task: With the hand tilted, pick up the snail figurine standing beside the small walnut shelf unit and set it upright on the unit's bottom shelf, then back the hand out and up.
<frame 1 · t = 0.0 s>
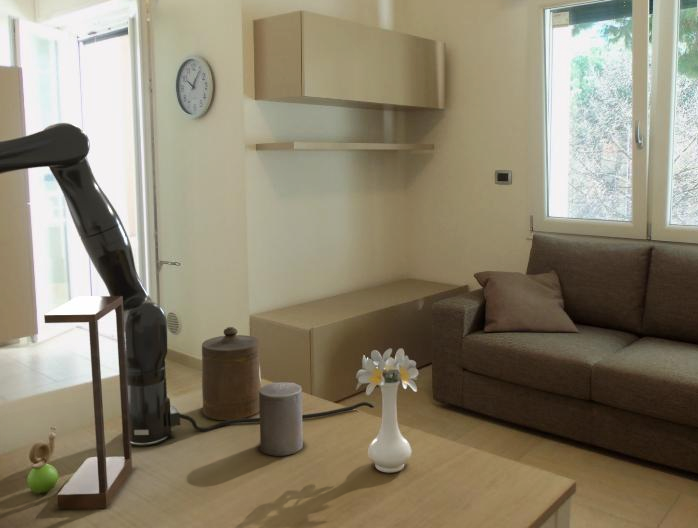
flower vase: (388, 465, 147), on the table
shelf unit: (97, 488, 137), on the table
pillar candle: (282, 447, 156), on the table
wooden container: (232, 410, 179), on the table
snail figurine: (45, 491, 137), on the table
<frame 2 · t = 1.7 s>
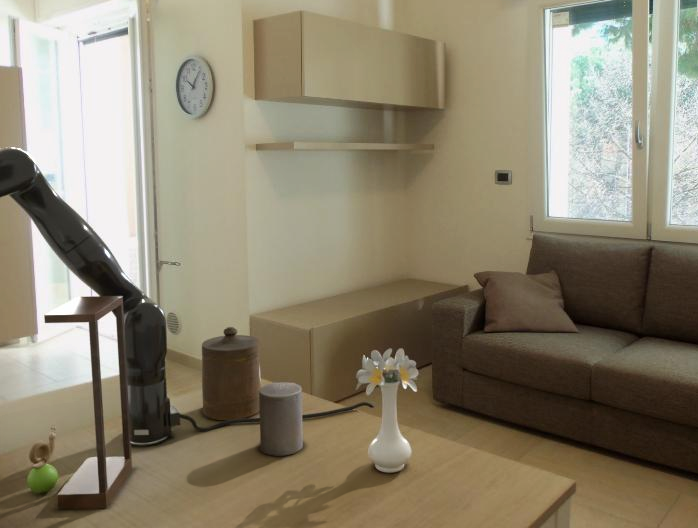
nothing on the table moved.
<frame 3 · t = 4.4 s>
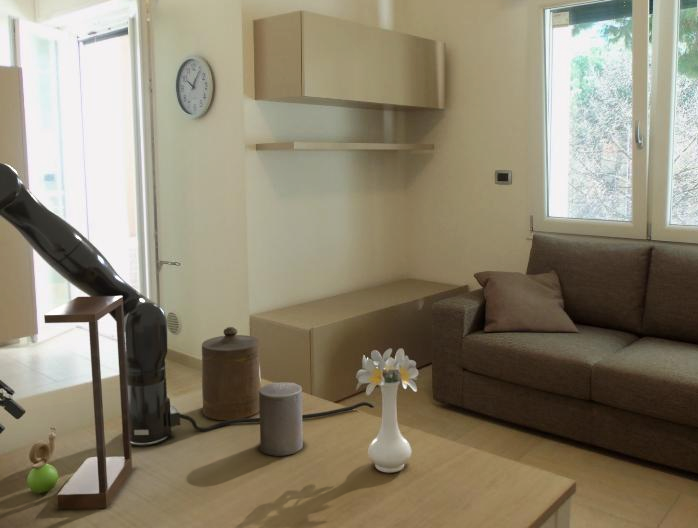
hand: (12, 424, 135), 14 cm above the table, tool tilted 45°, fingers open, 8 cm apart
nothing on the table moved.
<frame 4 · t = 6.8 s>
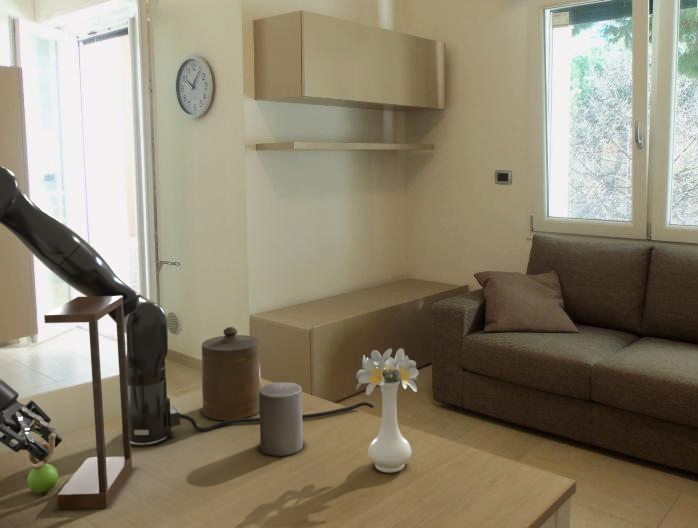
hand: (52, 450, 136), 8 cm above the table, tool tilted 45°, fingers closed on snail figurine, 5 cm apart
snail figurine: (45, 490, 137), on the table, touching gripper
everything else where it was.
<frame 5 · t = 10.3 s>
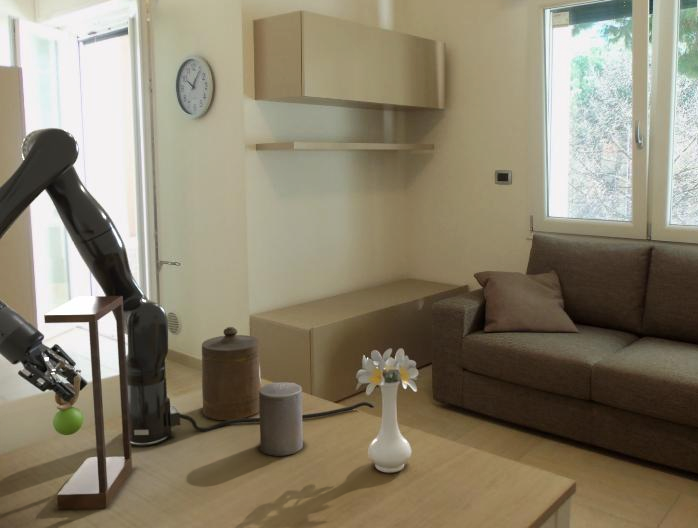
hand: (77, 392, 135), 20 cm above the table, tool tilted 45°, fingers closed on snail figurine, 5 cm apart
snail figurine: (71, 433, 136), point 12 cm above the table, touching gripper
everything else where it was.
when the fingers open (11 cm above the table, at t = 13.9 s): snail figurine stays where it is, resting on shelf unit.
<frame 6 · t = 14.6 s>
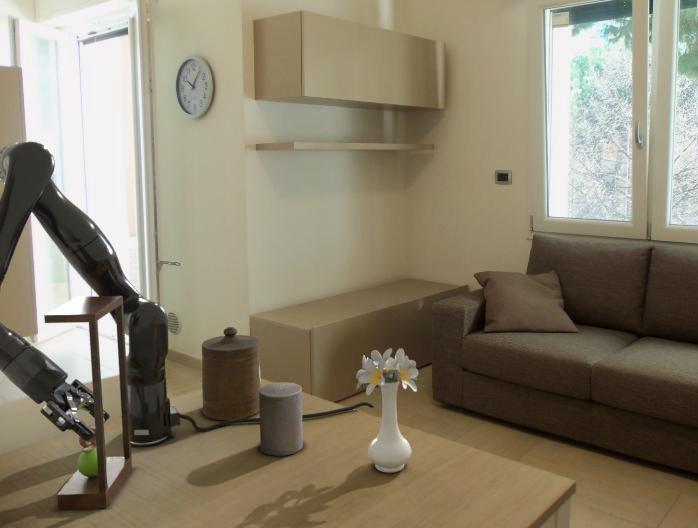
hand: (99, 428, 136), 12 cm above the table, tool tilted 45°, fingers open, 8 cm apart
snail figurine: (94, 475, 137), point 3 cm above the table, touching shelf unit
everything else where it was.
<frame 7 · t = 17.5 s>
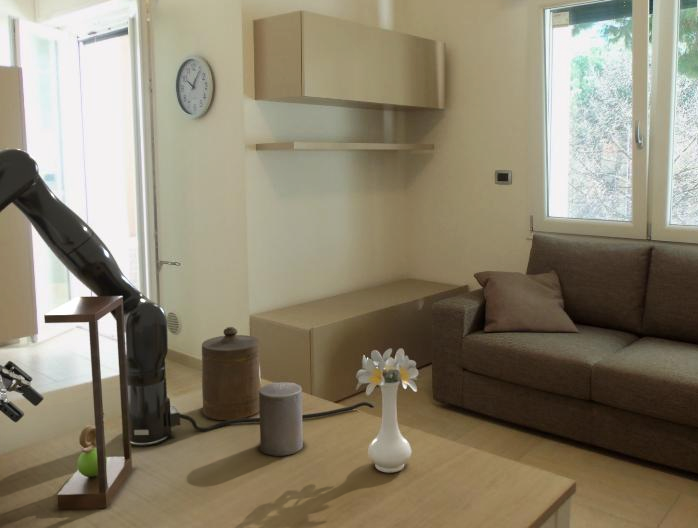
hand: (30, 410, 135), 16 cm above the table, tool tilted 45°, fingers open, 8 cm apart
nothing on the table moved.
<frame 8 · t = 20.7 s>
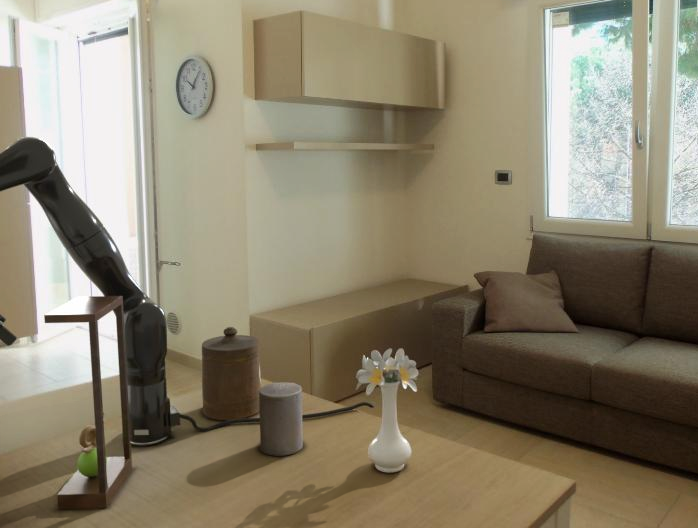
hand: (3, 348, 135), 29 cm above the table, tool tilted 45°, fingers open, 8 cm apart
nothing on the table moved.
at the end: snail figurine inside the target area on the shelf unit (0.3 cm from its centre), point 2.8 cm above the shelf unit's base; snail figurine tilted 0°; the gripper is holding nothing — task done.
